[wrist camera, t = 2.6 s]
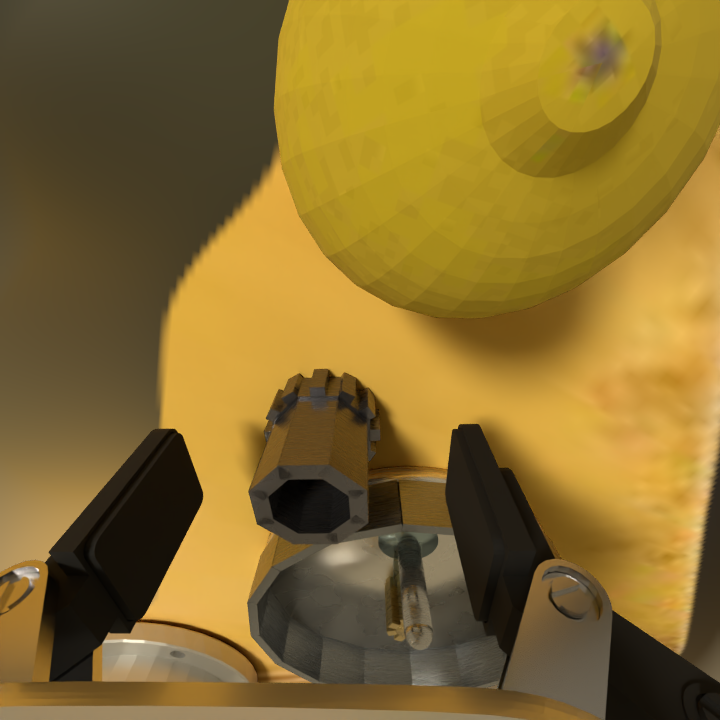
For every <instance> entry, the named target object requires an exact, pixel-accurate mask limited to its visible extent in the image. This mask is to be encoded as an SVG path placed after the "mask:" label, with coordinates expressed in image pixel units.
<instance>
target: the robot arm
mask: <svg viewBox="0 0 720 720" xmlns="http://www.w3.org/2000/svg"><path fill="white" fill-rule="evenodd" d="M445 497H446V503H447V507H448V511H449V516H450V520H451V524H452V528H453V532H454V536H455V540H456V545H457V549H458V553H459V557H460V561H461V565H462V569H463V573H464V578H465V582H466V586H467V590H468V594H469V598H470V602H471V607H472V611H473V614H474V618H475V620H476V621H482V623H483V626H484V630H485V634H486V636H496V638H497V641H498V645H499V648H500V649H501V650H502V651H503V652H505V653H506V654H507V655H506V658H505V662H504V665H503V669H502V672H501V676H500V679H499V683H498V687H497V689H488V688H477V687H450V686H423V685H379V684H318V683H258V679H257V673H256V671H255V669H254V667H253V665H252V664H251V663H250V661H249V660H248V659H247V658H246V657H245V656H244V655H243V654H241V653H240V652H238V651H237V650H236V649H234V648H233V647H231V646H229V645H227V644H226V643H224V642H222V641H220V640H218V639H215V638H213V637H210V636H208V635H205V634H203V633H199V632H196V631H192V630H189V629H185V628H181V627H175V626H170V625H165V624H156V623H145V622H137V620H140V619H141V618H142V617H143V616H144V615H145V613H146V611H147V610H148V608H149V606H150V604H151V602H152V600H153V598H154V596H155V594H156V592H157V590H158V588H159V586H160V584H161V582H162V580H163V578H164V576H165V574H166V572H167V570H168V568H169V566H170V564H171V563H172V561H173V559H174V557H175V555H176V553H177V551H178V549H179V547H180V545H181V543H182V541H183V539H184V537H185V535H186V533H187V531H188V529H189V527H190V525H191V523H192V521H193V519H194V517H195V515H196V514H197V512H198V510H199V508H200V506H201V503H202V500H203V491H202V488H201V485H200V483H199V480H198V477H197V474H196V472H195V469H194V466H193V463H192V461H191V458H190V455H189V452H188V449H187V447H186V444H185V441H184V438H183V436H182V435H181V434H180V433H178V432H177V431H176V430H175V429H155V430H153V431H151V432H150V434H149V435H148V436H147V437H146V438H145V439H144V441H143V442H142V443H141V444H140V445H139V446H138V448H137V449H136V450H135V451H134V452H133V454H132V455H131V456H130V457H129V458H128V459H127V461H126V462H125V463H124V464H123V465H122V466H121V468H120V469H119V470H118V471H117V472H116V473H115V475H114V476H113V477H112V478H111V479H110V481H109V482H108V483H107V484H106V485H105V486H104V488H103V489H102V490H101V491H100V492H99V493H98V495H97V496H96V497H95V498H94V499H93V500H92V502H91V503H90V504H89V505H88V506H87V507H86V509H85V510H84V511H83V512H82V513H81V515H80V516H79V517H78V518H77V519H76V520H75V522H74V523H73V524H72V525H71V526H70V528H69V529H68V530H67V531H66V532H65V533H64V535H63V536H62V537H61V538H60V539H59V540H58V541H57V543H56V544H55V545H54V546H53V547H52V548H51V550H50V551H49V553H50V555H51V556H50V557H49V558H48V559H47V561H46V562H45V563H44V562H43V561H39V560H30V561H24V562H21V563H19V564H16V565H13V566H11V567H9V568H7V569H5V570H4V571H1V572H0V720H720V683H719V682H718V681H716V680H715V679H713V678H711V677H710V676H708V675H707V674H706V673H704V672H703V671H701V670H700V669H698V668H697V667H695V666H694V665H692V664H691V663H689V662H688V661H686V660H685V659H684V658H682V657H681V656H679V655H678V654H676V653H675V652H673V651H672V650H670V649H669V648H667V647H666V646H664V645H663V644H661V643H660V642H658V641H657V640H656V639H654V638H653V637H651V636H650V635H648V634H647V633H645V632H644V631H642V630H641V629H639V628H638V627H636V626H635V625H633V624H632V623H630V622H629V621H627V620H626V619H625V618H623V617H622V616H620V615H619V614H617V613H616V612H614V611H613V610H612V606H611V602H610V600H609V598H608V595H607V593H606V591H605V590H604V588H603V587H602V586H601V584H600V583H599V582H598V581H597V580H596V579H595V578H594V577H593V576H592V575H591V574H590V573H589V572H588V571H586V570H584V569H583V568H581V567H580V566H578V565H576V564H574V563H571V562H568V561H566V560H560V559H555V557H554V555H553V553H552V551H551V549H550V547H549V545H548V543H547V540H546V538H545V536H544V534H543V532H542V530H541V528H540V526H539V524H538V522H537V520H536V518H535V516H534V514H533V512H532V510H531V508H530V506H529V504H528V502H527V500H526V498H525V496H524V494H523V492H522V490H521V488H520V486H519V484H518V482H517V480H516V478H515V476H514V474H513V472H512V471H511V470H510V469H509V468H499V467H498V465H497V463H496V460H495V458H494V456H493V454H492V452H491V449H490V447H489V445H488V443H487V441H486V438H485V436H484V434H483V432H482V429H481V427H480V426H479V425H478V424H460V425H459V426H458V429H453V430H452V436H451V445H450V453H449V462H448V470H447V479H446V488H445Z"/></svg>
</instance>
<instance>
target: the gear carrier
mask: <svg viewBox="0 0 720 720" xmlns="http://www.w3.org/2000/svg"><path fill="white" fill-rule="evenodd" d="M446 479H447V469H439V468H432V467H409V466H406V467H390V468H381V469H375V470H368V496H369V523H368V524H366V525H365V526H363V527H362V528H361V529H359V530H358V531H356V532H355V533H353V534H352V535H350V536H349V537H347V538H346V539H345V540H343V541H342V542H340V543H339V544H292V543H290V542H288V541H286V540H285V539H283V538H281V537H279V536H277V535H276V534H274V533H272V532H271V533H270V535H269V539H268V542H267V546H266V548H265V549H264V551H263V553H262V554H261V556H260V560H259V563H258V567H257V570H256V574H255V577H254V581H253V584H252V588H251V591H250V595H249V599H248V602H247V604H248V613H249V623H250V632H251V637H252V638H253V639H254V640H255V641H256V642H257V643H258V645H259V646H260V647H261V648H262V649H263V650H264V651H265V652H266V654H267V655H268V656H269V657H270V658H271V659H272V660H273V661H274V663H275V664H277V665H279V666H281V667H283V668H285V669H286V670H288V671H290V672H292V673H294V674H296V675H298V676H300V677H302V678H304V679H306V680H308V681H310V682H312V683H318V684H379V685H423V686H450V687H477V688H488V687H491V686H494V685H498V683H499V679H500V676H501V672H502V669H503V665H504V662H505V658H506V655H507V654H506V653H505V652H503V651H502V650H501V649H500V648H499V645H498V641H497V638H496V636H486V634H485V630H484V626H483V623H482V621H476V620H475V618H474V614H473V611H472V607H471V602H470V598H469V594H468V590H467V586H466V582H465V578H464V573H463V569H462V565H461V561H460V557H459V553H458V549H457V545H456V540H455V536H454V532H453V528H452V524H451V520H450V516H449V511H448V507H447V503H446V497H445V488H446ZM535 518H536V517H535ZM536 520H537V519H536ZM537 522H538V520H537ZM538 524H539V522H538ZM539 526H540V524H539ZM540 528H541V526H540ZM541 530H542V528H541ZM542 532H543V534H544V536H545V538H546V540H547V543H548V545H549V547H550V549H551V551H552V553H553V555H554V557H555V559H560V560H561V558H560V556H559V554H558V552H557V550H556V548H555V546H554V544H553V542H552V541H551V540H550V539H549V538H548V536H547V535H546V534H545V533H544V531H543V530H542Z"/></svg>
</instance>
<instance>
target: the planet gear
mask: <svg viewBox="0 0 720 720" xmlns="http://www.w3.org/2000/svg"><path fill="white" fill-rule="evenodd" d="M266 419H267V420H269V421H268V423H267V426H266V428H265V431H264V433H265V438H266V442H267V444H266V446H265V449H264V451H263V454H262V457H261V459H260V462H259V465H258V467H257V470H256V473H255V475H254V478H253V480H252V483H251V486H250V488H249V491H248V492H249V495H250V499H251V503H252V507H253V510H254V514H255V518H256V522H257V525H260V526H261V527H263V528H265V529H267V530H269V531H270V532H272V533H274V534H276V535H277V536H279V537H281V538H283V539H285V540H286V541H288V542H290V543H292V544H339V543H340V542H342V541H343V540H345V539H346V538H347V537H349V536H350V535H352V534H353V533H355V532H356V531H358V530H359V529H361V528H362V527H363V526H365V525H366V524H368V523H369V496H368V461H370V460H371V459H372V458H373V456H374V455H375V453H376V441H380V419H379V409H375V397H374V395H373V394H372V392H371V391H370V390H369V388H366V389H364V390H362V391H360V392H359V391H358V390H357V389H356V378H355V377H353V376H351V375H349V374H346V373H343V375H342V377H330V378H329V373H328V369H314V372H313V376H312V378H303V377H302V376H301V375H300V374H297V375H296V376H294V377H292V378H290V379H289V380H288V382H287V384H286V387H285V389H284V391H282V390H278V392H277V394H276V396H275V398H274V400H273V403H272V405H271V407H270V410H269V412H268V415H267V417H266Z"/></svg>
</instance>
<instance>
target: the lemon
mask: <svg viewBox="0 0 720 720" xmlns="http://www.w3.org/2000/svg"><path fill="white" fill-rule="evenodd" d="M274 114H275V121H276V129H277V136H278V143H279V151H280V158H281V165H282V170H283V172H284V175H285V178H286V181H287V184H288V186H289V189H290V192H291V195H292V198H293V200H294V203H295V206H296V209H297V212H298V214H299V217H300V218H301V220H302V221H303V223H304V224H305V226H306V228H307V229H308V231H309V232H310V234H311V235H312V237H313V238H314V240H315V242H316V243H317V245H318V246H319V248H320V249H321V251H322V252H323V254H324V255H325V256H326V257H327V258H328V259H329V260H330V261H331V262H332V263H333V264H334V265H335V266H336V267H337V268H338V269H340V270H341V271H342V272H343V273H344V274H345V275H346V276H347V277H348V278H349V279H350V280H351V281H352V282H353V283H354V284H356V285H357V286H359V287H360V288H362V289H364V290H366V291H367V292H369V293H371V294H373V295H374V296H376V297H378V298H380V299H381V300H383V301H385V302H387V303H388V304H390V305H392V306H395V307H399V308H403V309H406V310H410V311H414V312H417V313H421V314H425V315H429V316H432V317H436V318H485V317H490V316H495V315H500V314H505V313H509V312H514V311H519V310H524V309H529V308H531V307H533V306H536V305H538V304H540V303H542V302H545V301H547V300H549V299H551V298H554V297H556V296H558V295H560V294H563V293H565V292H567V291H570V290H572V289H574V288H575V287H577V286H579V285H580V284H582V283H583V282H585V281H586V280H587V279H589V278H590V277H592V276H593V275H595V274H596V273H597V272H599V271H600V270H602V269H603V268H605V267H606V266H607V265H609V264H610V263H612V262H613V261H615V260H616V259H617V258H619V257H620V256H622V255H623V254H625V253H626V252H627V251H628V250H629V249H630V248H631V247H632V246H633V245H634V244H635V243H636V242H637V241H638V240H639V239H640V238H641V237H642V236H643V235H644V234H645V233H646V232H647V231H648V230H649V229H650V228H651V227H652V226H653V225H654V224H655V223H656V222H657V221H658V220H659V219H660V218H661V217H662V216H663V215H664V214H665V213H666V212H667V210H668V209H669V207H670V206H671V205H672V203H673V202H674V200H675V199H676V197H677V196H678V195H679V193H680V192H681V190H682V189H683V188H684V186H685V185H686V183H687V182H688V180H689V179H690V178H691V176H692V175H693V173H694V172H695V170H696V169H697V168H698V166H699V165H700V163H701V162H702V161H703V159H704V157H705V155H706V153H707V151H708V149H709V147H710V144H711V142H712V140H713V138H714V136H715V134H716V132H717V129H718V127H719V125H720V0H289V4H288V7H287V11H286V14H285V18H284V21H283V25H282V28H281V32H280V35H279V41H278V57H277V70H276V86H275V99H274Z"/></svg>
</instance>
